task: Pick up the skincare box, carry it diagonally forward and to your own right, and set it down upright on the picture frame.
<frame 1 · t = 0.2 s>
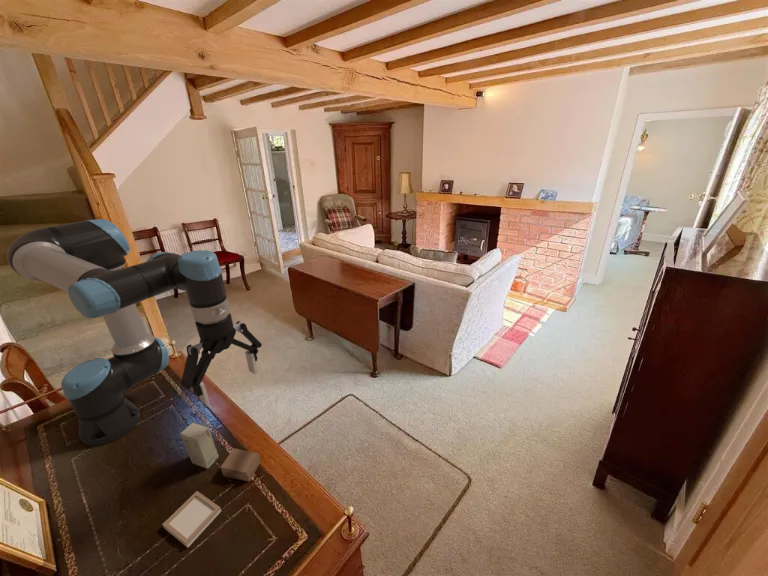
hand: (231, 386, 83), 27 cm above the table, fingers open, 13 cm apart
picture frame: (193, 519, 78), on the table
skincare box: (205, 460, 93), on the table
walnut box: (242, 469, 91), on the table
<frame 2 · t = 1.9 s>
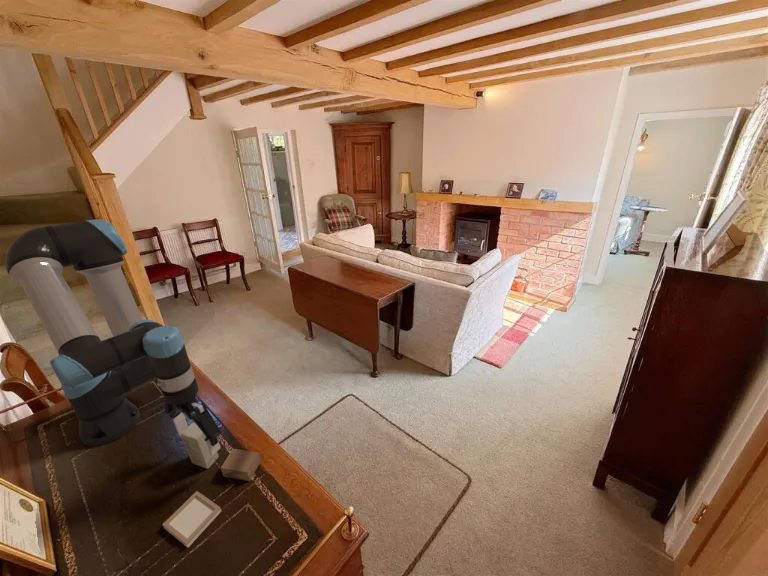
hand: (199, 441, 89), 8 cm above the table, fingers open, 13 cm apart
nothing on the table moved.
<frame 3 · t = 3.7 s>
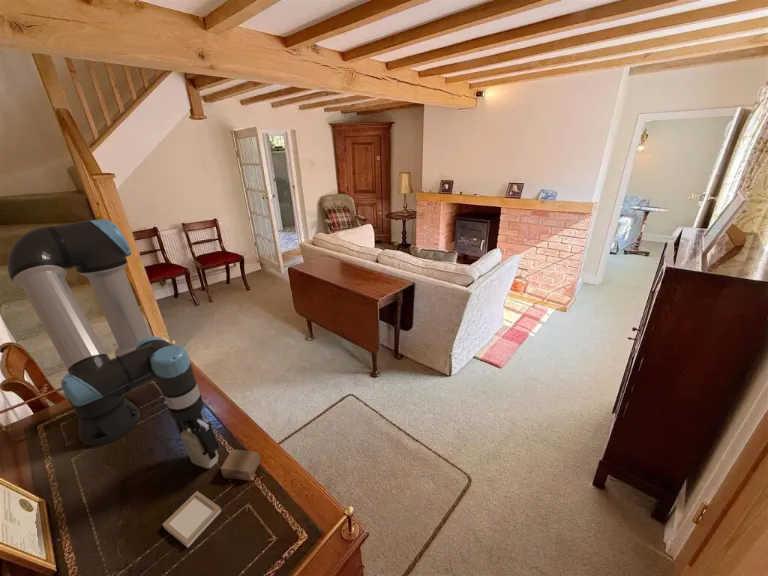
hand: (205, 458, 93), 1 cm above the table, fingers closed on skincare box, 7 cm apart
skincare box: (205, 460, 93), on the table, touching gripper
everything else where it was.
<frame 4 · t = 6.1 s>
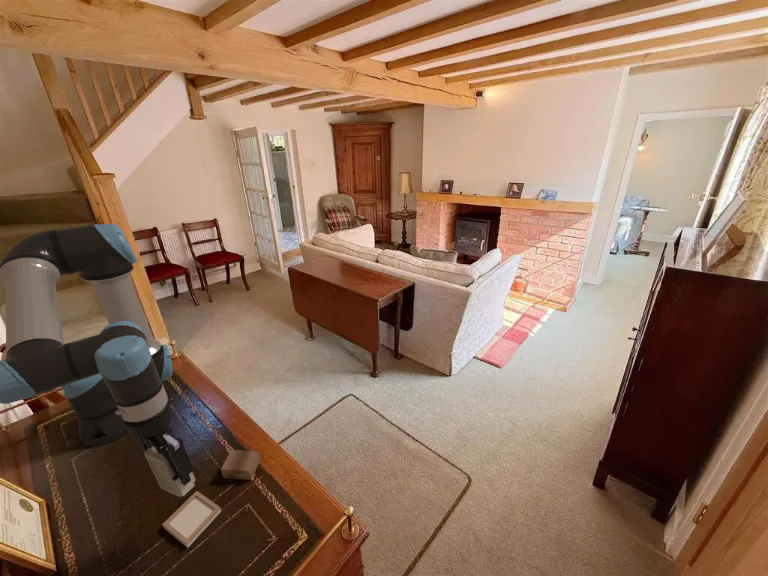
hand: (177, 482, 72), 14 cm above the table, fingers closed on skincare box, 6 cm apart
skincare box: (178, 484, 73), point 14 cm above the table, touching gripper
everything else where it was.
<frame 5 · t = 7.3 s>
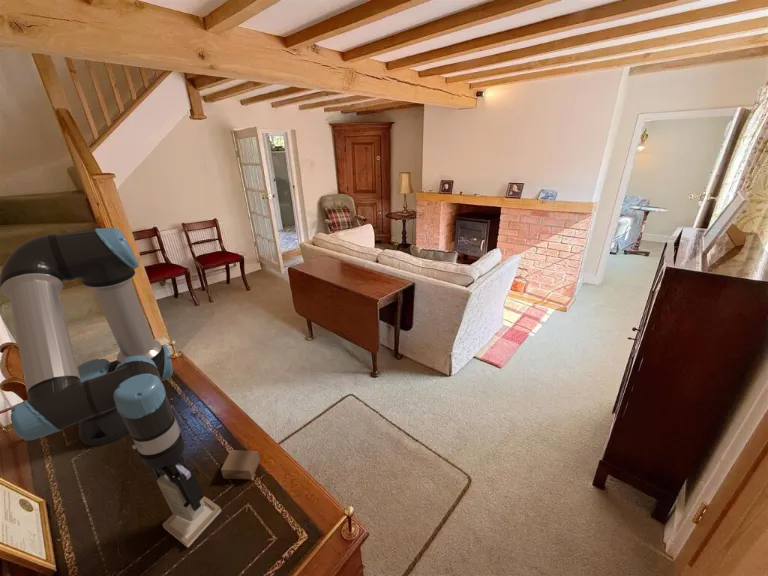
hand: (188, 507, 76), 5 cm above the table, fingers closed on skincare box, 6 cm apart
skincare box: (188, 508, 77), point 4 cm above the table, touching gripper
everything else where it was.
when the fingers open (2 cm above the table, at t = 8.5 s): skincare box stays where it is, resting on picture frame.
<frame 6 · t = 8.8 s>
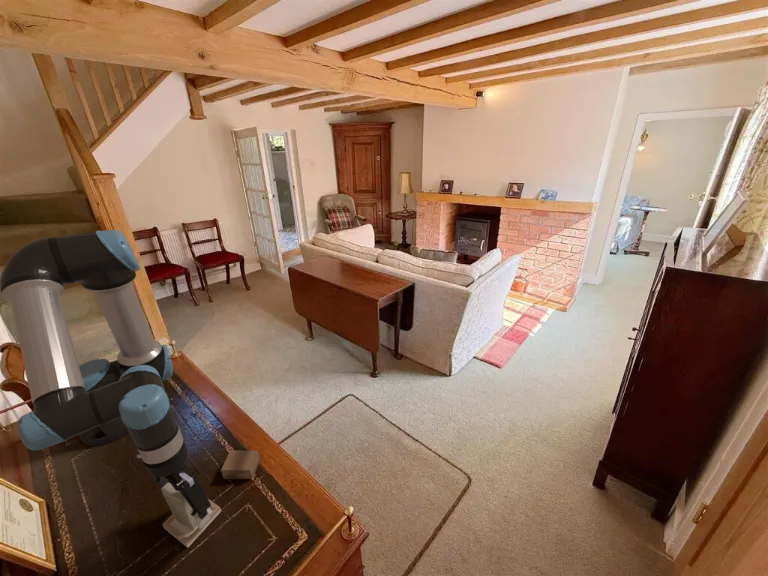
hand: (190, 511, 77), 3 cm above the table, fingers open, 10 cm apart
skincare box: (192, 516, 78), point 1 cm above the table, touching picture frame
everything else where it was.
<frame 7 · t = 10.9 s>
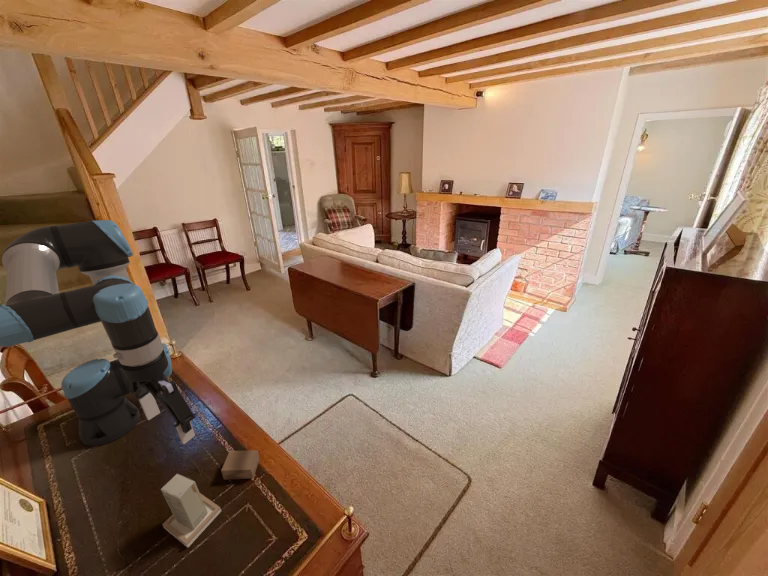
hand: (170, 427, 75), 24 cm above the table, fingers open, 13 cm apart
nothing on the table moved.
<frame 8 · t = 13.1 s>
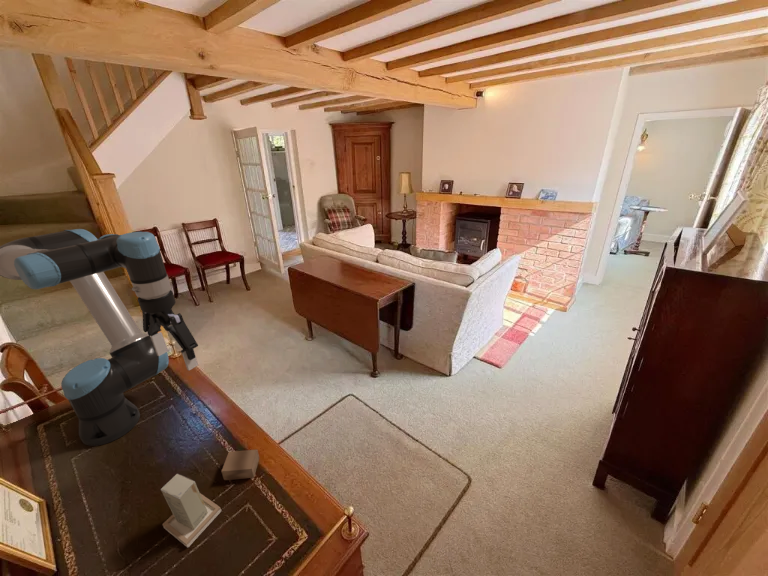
hand: (177, 360, 90), 29 cm above the table, fingers open, 13 cm apart
nothing on the table moved.
at the end: skincare box inside the target area on the picture frame (0.2 cm from its centre), point 0.8 cm above the picture frame's base; skincare box tilted 0°; the gripper is holding nothing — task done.
